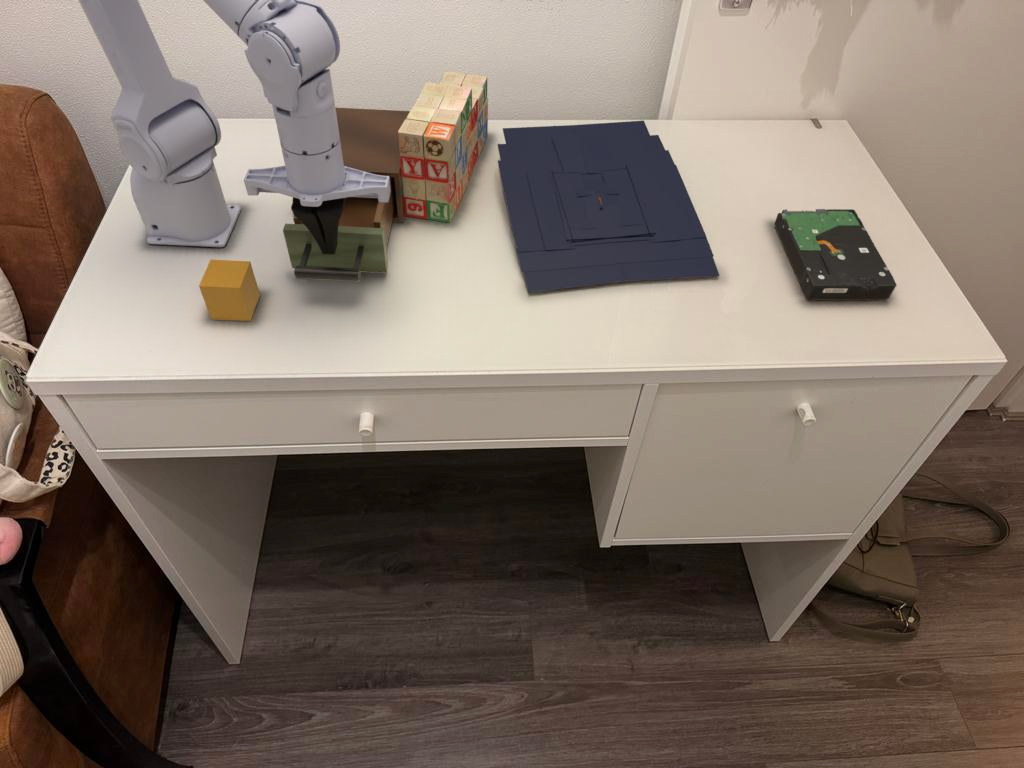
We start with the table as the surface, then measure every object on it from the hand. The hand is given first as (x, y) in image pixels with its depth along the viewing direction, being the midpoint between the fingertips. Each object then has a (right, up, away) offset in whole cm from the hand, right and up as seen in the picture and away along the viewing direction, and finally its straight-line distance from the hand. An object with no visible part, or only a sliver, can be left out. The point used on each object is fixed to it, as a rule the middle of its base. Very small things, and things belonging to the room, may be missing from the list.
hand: (329, 248), depth 83 cm
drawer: (0, +1, +8) cm, 8 cm away
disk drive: (+60, 0, +11) cm, 61 cm away
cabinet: (0, +11, +17) cm, 21 cm away
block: (-11, -6, +2) cm, 13 cm away
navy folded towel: (+31, +8, +16) cm, 36 cm away
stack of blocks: (+12, +14, +20) cm, 27 cm away
